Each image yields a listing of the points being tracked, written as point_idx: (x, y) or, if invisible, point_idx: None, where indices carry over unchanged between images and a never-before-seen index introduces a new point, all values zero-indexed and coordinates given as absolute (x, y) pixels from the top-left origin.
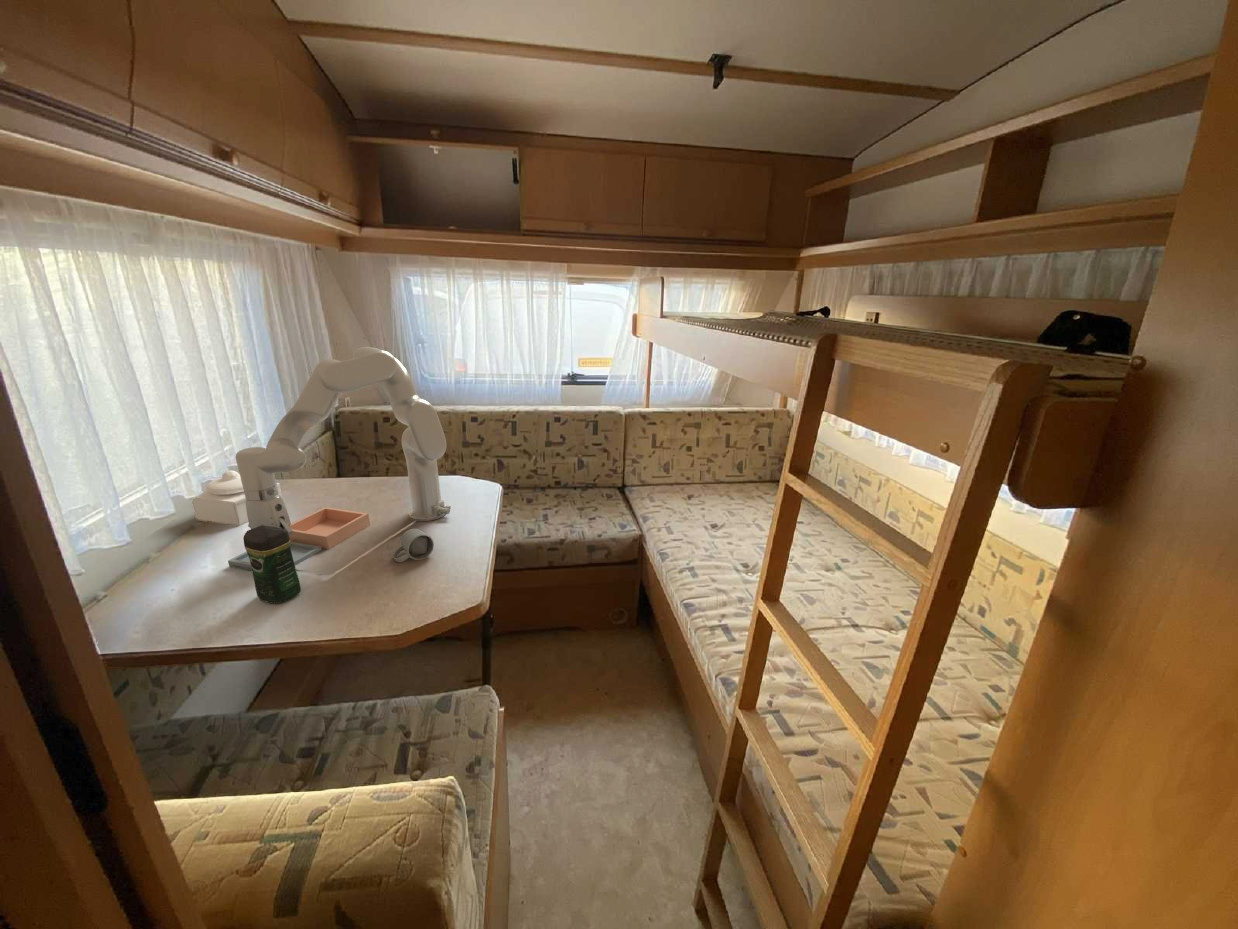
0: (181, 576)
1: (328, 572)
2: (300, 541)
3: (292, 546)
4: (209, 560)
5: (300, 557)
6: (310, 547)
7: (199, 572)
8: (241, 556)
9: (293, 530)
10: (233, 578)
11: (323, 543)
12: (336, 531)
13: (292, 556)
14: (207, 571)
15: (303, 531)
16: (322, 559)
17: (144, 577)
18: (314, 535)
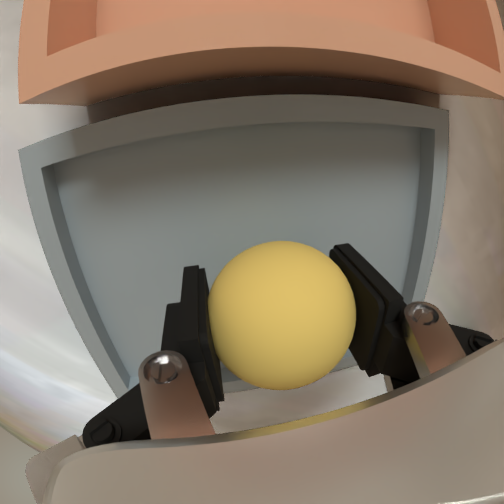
0: (81, 427)
1: (498, 234)
2: (258, 68)
3: (230, 126)
4: (18, 362)
5: (430, 246)
6: (399, 124)
7: (89, 411)
8: (113, 361)
9: (182, 38)
10: (233, 402)
11: (454, 89)
12: (501, 23)
13: (352, 226)
14: (99, 405)
15: (321, 23)
16: (455, 166)
17: (34, 433)
18: (450, 76)
